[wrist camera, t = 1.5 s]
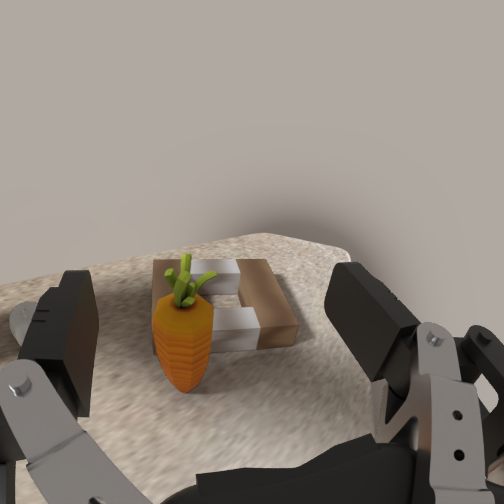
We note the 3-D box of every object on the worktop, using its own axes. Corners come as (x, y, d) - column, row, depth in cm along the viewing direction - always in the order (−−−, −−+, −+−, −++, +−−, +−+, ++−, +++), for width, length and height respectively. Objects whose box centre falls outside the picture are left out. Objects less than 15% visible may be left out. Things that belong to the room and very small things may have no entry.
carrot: (175, 364, 31) (173, 237, 24) (218, 383, 30) (232, 256, 23) (150, 397, 27) (133, 267, 20) (196, 419, 26) (199, 292, 18)
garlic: (52, 356, 28) (38, 322, 25) (12, 356, 26) (-4, 322, 23) (57, 320, 33) (47, 287, 30) (21, 321, 31) (9, 288, 28)
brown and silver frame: (153, 354, 32) (151, 332, 30) (154, 280, 43) (153, 259, 42) (292, 345, 36) (299, 324, 34) (262, 278, 48) (265, 259, 46)
